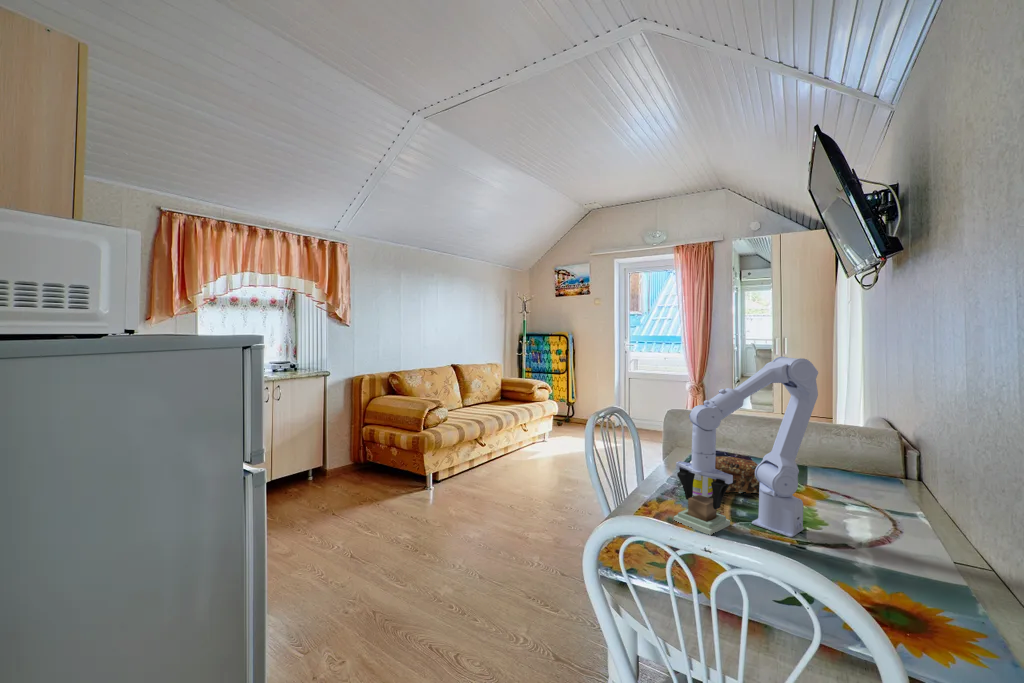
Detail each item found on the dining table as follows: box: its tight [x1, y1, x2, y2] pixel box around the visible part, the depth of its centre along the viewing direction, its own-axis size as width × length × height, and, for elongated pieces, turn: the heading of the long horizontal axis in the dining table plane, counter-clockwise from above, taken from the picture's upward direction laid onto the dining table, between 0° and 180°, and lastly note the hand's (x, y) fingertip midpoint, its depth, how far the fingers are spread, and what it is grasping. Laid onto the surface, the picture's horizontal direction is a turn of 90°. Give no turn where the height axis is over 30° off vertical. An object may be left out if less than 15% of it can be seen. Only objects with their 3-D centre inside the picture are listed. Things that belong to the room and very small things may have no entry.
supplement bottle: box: [689, 460, 713, 498], centre depth 134 cm, size 7×7×13 cm
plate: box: [673, 508, 731, 536], centre depth 114 cm, size 10×10×2 cm
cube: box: [687, 495, 718, 522], centre depth 114 cm, size 5×5×5 cm
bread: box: [713, 455, 760, 495], centre depth 141 cm, size 19×11×10 cm, turn 81°
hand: (702, 503), depth 114 cm, fingers open, 7 cm apart
